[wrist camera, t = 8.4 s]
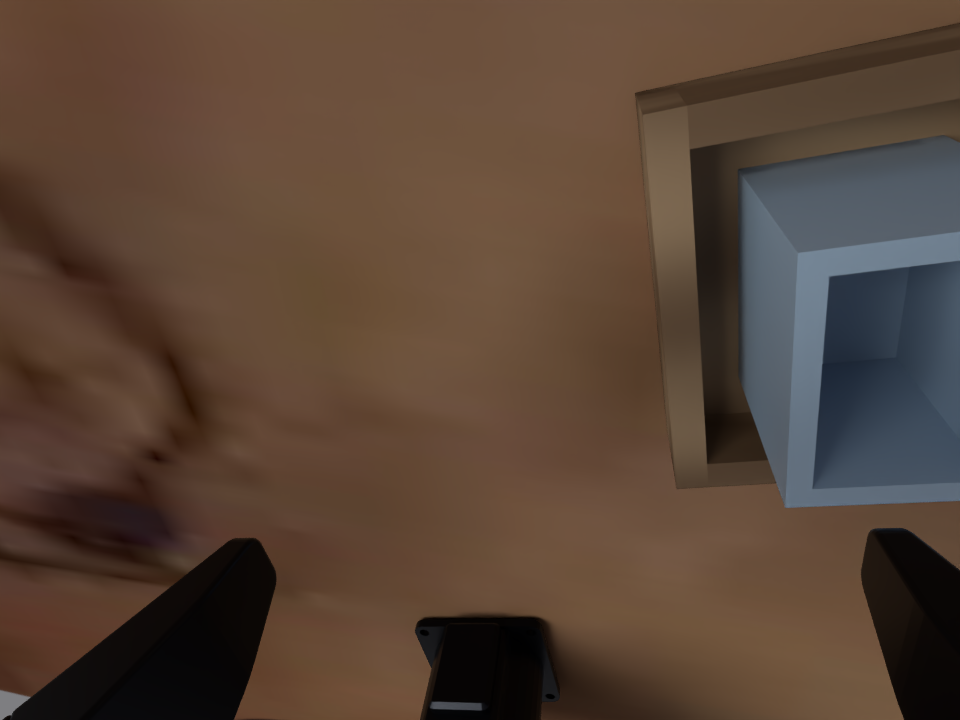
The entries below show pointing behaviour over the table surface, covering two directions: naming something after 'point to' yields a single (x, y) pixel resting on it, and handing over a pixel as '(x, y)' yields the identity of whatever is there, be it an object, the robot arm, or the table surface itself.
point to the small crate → (854, 322)
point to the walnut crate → (714, 208)
